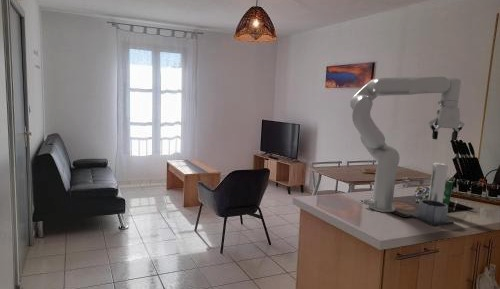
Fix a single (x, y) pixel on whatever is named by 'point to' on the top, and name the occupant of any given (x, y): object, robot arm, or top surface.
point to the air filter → (438, 182)
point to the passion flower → (421, 193)
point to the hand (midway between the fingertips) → (444, 139)
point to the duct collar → (432, 213)
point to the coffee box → (447, 192)
